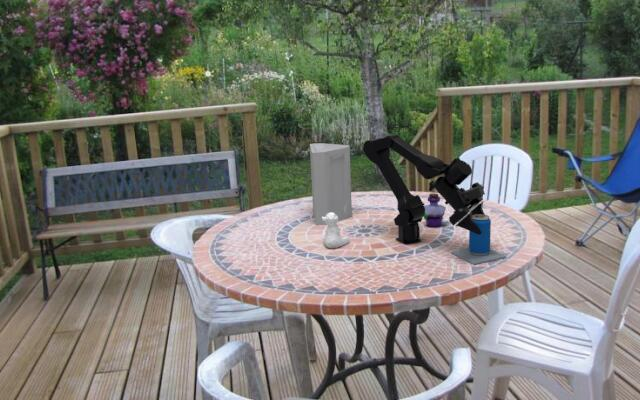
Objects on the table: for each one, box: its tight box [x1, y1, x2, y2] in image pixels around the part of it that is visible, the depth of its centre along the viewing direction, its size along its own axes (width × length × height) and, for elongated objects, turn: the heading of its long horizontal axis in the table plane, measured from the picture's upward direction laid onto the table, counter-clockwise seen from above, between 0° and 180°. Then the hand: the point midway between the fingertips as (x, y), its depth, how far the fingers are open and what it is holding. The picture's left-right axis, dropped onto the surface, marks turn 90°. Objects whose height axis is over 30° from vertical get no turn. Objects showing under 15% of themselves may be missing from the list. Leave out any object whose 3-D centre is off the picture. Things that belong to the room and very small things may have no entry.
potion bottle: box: [423, 193, 447, 229], centre depth 233 cm, size 9×9×12 cm
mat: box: [450, 247, 507, 266], centre depth 202 cm, size 12×12×1 cm
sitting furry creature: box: [322, 212, 351, 249], centre depth 217 cm, size 10×9×12 cm
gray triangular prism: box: [309, 142, 353, 226], centre depth 247 cm, size 19×15×28 cm
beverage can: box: [468, 213, 492, 255], centre depth 201 cm, size 6×6×12 cm
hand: (484, 229), depth 200 cm, fingers open, 9 cm apart
